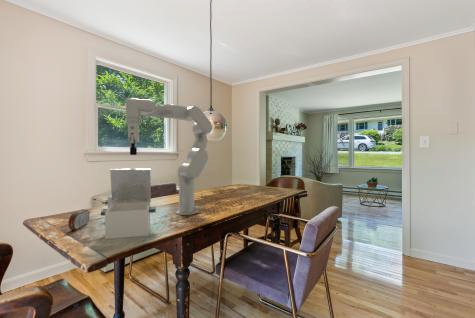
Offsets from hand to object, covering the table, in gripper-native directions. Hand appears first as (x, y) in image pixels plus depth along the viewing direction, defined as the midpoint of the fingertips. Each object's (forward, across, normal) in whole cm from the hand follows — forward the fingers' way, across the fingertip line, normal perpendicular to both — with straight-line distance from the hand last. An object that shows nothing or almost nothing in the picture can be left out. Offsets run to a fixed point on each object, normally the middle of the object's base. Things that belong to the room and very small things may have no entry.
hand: (133, 154), depth 135 cm
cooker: (+37, -17, 0) cm, 41 cm away
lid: (+16, -10, 0) cm, 19 cm away
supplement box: (+37, +11, +10) cm, 40 cm away
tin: (+37, -4, +25) cm, 45 cm away
